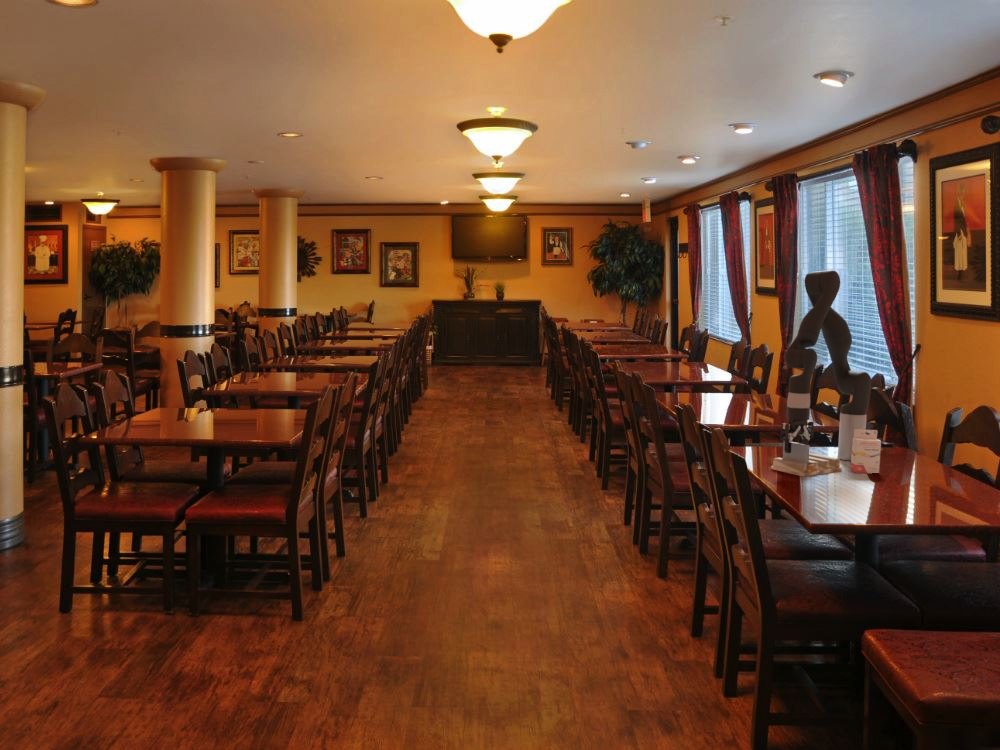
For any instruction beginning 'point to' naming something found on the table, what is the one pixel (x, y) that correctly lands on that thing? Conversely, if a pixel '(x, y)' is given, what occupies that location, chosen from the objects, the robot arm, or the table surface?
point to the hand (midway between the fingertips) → (796, 451)
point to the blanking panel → (797, 453)
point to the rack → (816, 465)
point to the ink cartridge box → (865, 452)
